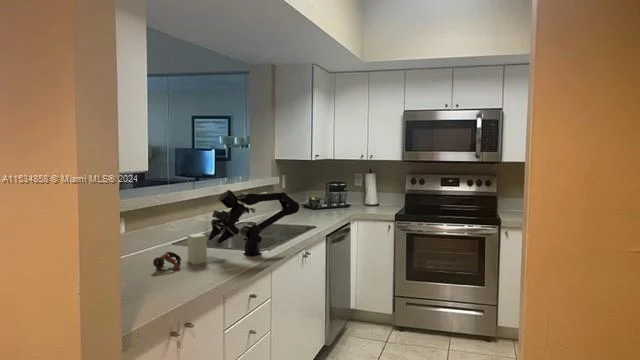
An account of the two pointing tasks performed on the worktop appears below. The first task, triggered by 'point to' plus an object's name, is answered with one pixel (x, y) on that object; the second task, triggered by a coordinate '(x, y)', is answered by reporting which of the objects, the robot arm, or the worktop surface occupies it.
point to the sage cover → (197, 248)
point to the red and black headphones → (159, 261)
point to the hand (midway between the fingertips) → (213, 241)
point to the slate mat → (209, 261)
